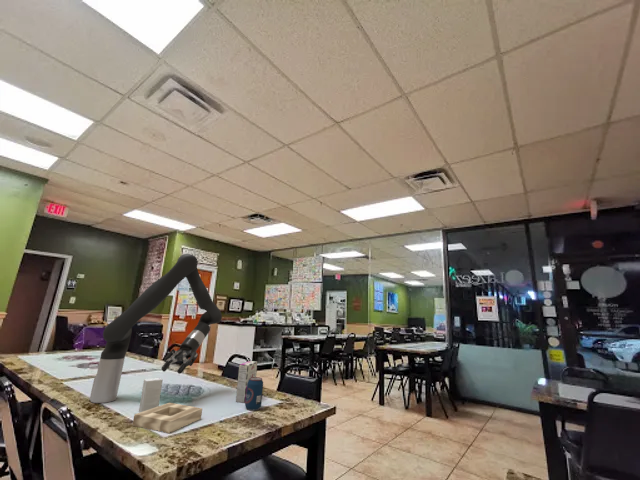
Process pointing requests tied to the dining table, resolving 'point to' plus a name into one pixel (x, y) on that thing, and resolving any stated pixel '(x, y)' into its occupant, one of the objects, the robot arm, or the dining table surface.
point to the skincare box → (150, 394)
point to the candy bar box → (245, 379)
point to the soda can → (254, 393)
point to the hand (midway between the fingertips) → (170, 371)
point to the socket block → (167, 417)
